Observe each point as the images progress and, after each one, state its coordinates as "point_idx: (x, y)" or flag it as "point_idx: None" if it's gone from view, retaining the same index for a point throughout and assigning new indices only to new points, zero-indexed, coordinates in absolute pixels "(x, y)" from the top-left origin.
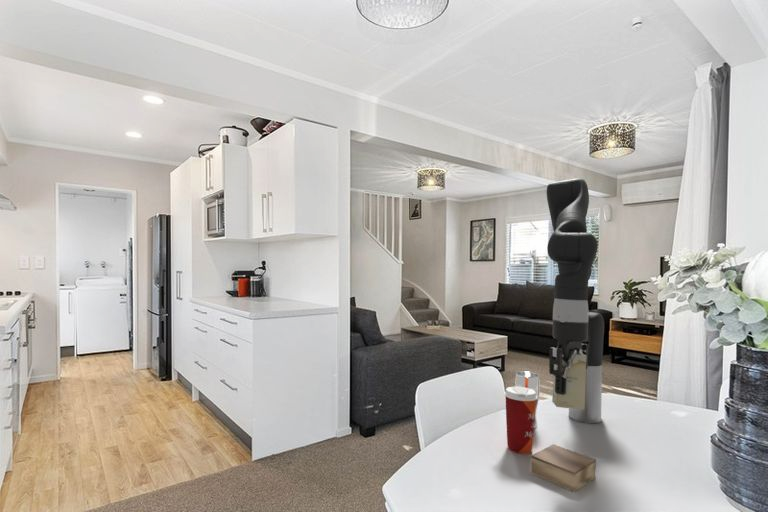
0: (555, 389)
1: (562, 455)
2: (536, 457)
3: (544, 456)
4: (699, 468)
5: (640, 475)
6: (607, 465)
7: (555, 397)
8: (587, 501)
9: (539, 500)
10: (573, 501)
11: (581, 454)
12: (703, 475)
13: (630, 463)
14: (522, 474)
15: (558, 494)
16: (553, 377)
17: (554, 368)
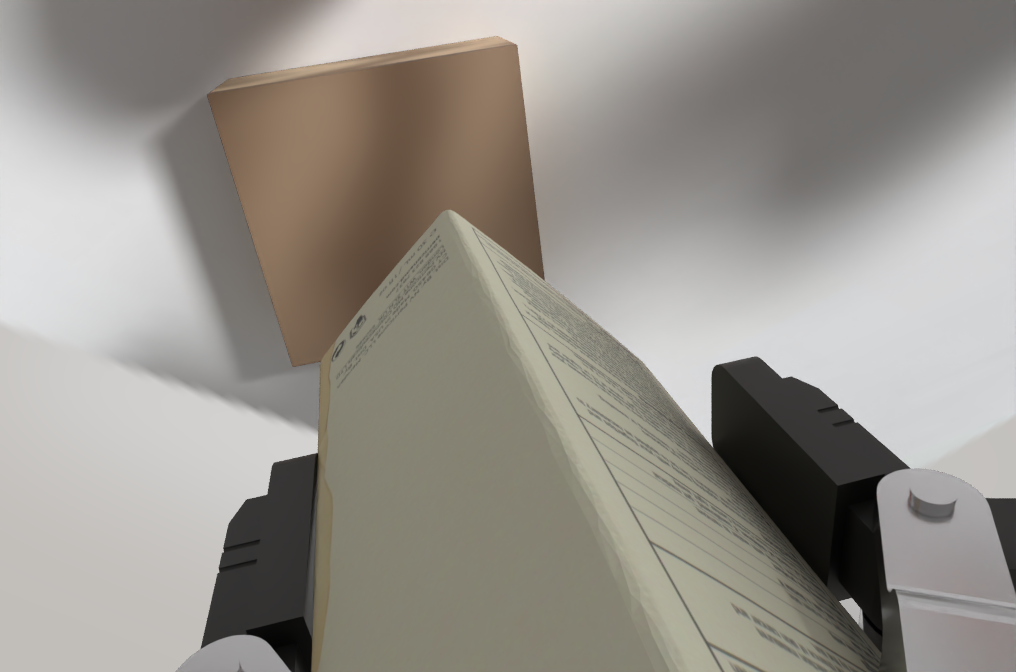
0: (233, 520)
1: (414, 198)
2: (220, 136)
3: (287, 152)
4: (986, 412)
5: (728, 352)
6: (708, 225)
7: (350, 363)
8: (290, 394)
9: (60, 302)
10: (226, 371)
11: (536, 241)
12: (926, 448)
13: (822, 263)
14: (163, 62)
15: (204, 305)
16: (487, 356)
17: (481, 512)
